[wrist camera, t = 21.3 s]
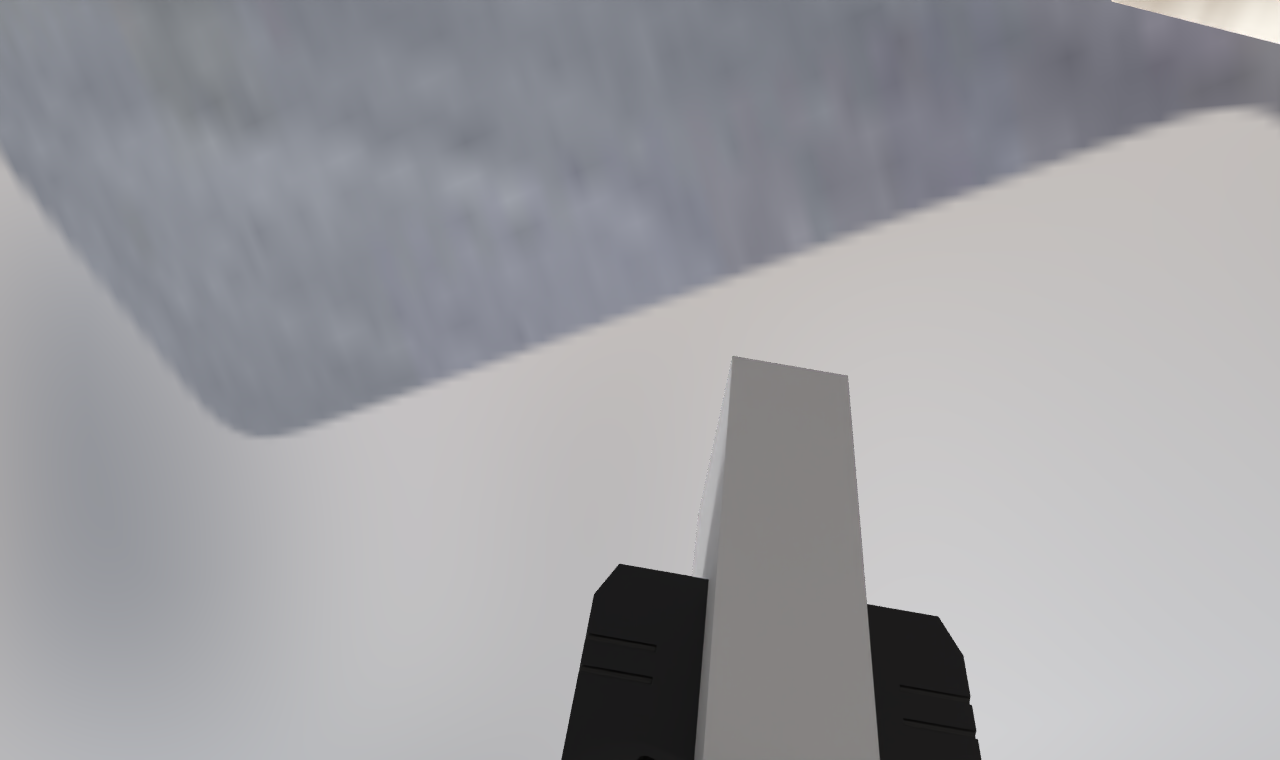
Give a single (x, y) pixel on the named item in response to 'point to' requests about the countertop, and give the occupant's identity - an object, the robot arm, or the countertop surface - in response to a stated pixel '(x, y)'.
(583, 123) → the countertop surface
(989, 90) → the countertop surface
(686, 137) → the countertop surface
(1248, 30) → the domino
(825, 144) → the countertop surface
